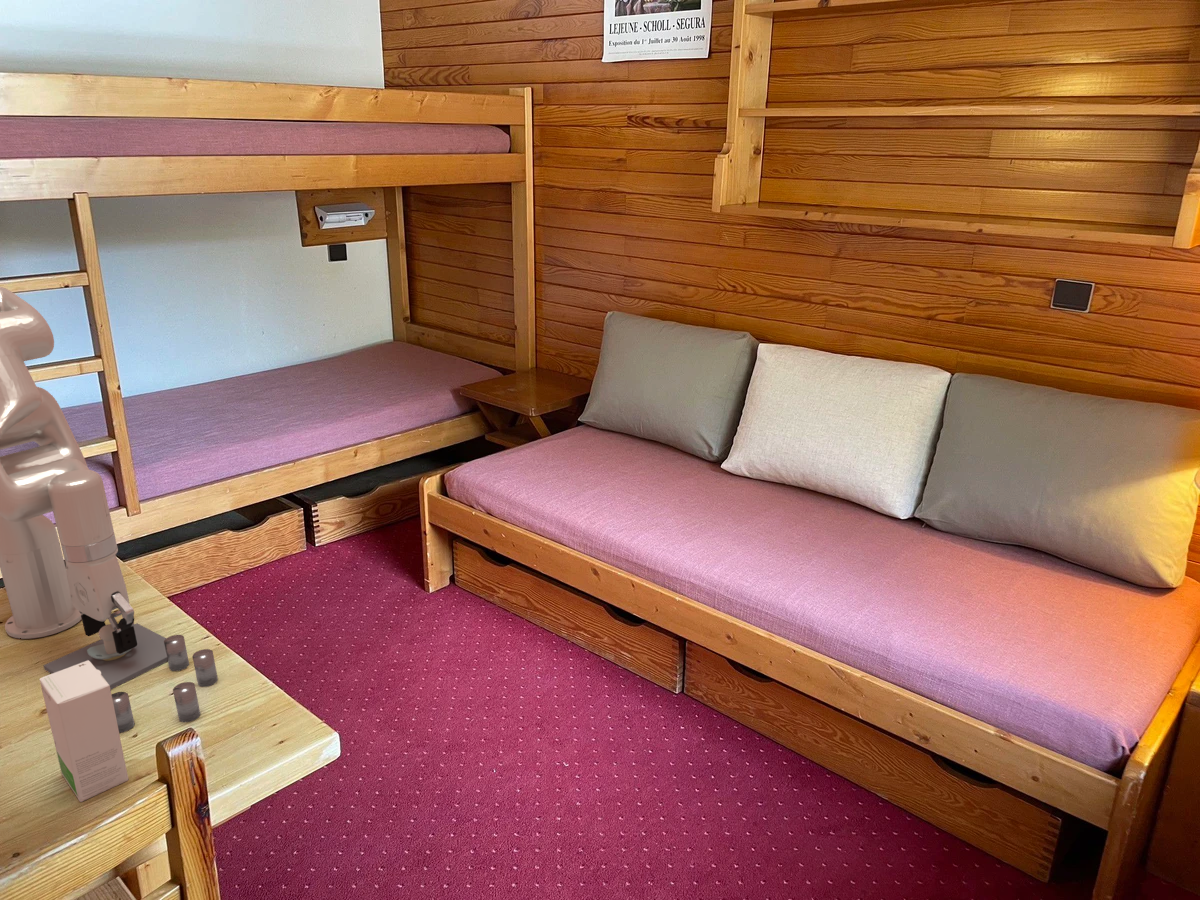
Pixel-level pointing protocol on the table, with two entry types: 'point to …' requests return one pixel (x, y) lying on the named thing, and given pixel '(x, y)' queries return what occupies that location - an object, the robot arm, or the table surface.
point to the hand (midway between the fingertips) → (111, 640)
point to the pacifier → (105, 646)
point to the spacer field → (182, 692)
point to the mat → (124, 668)
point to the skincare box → (84, 729)
